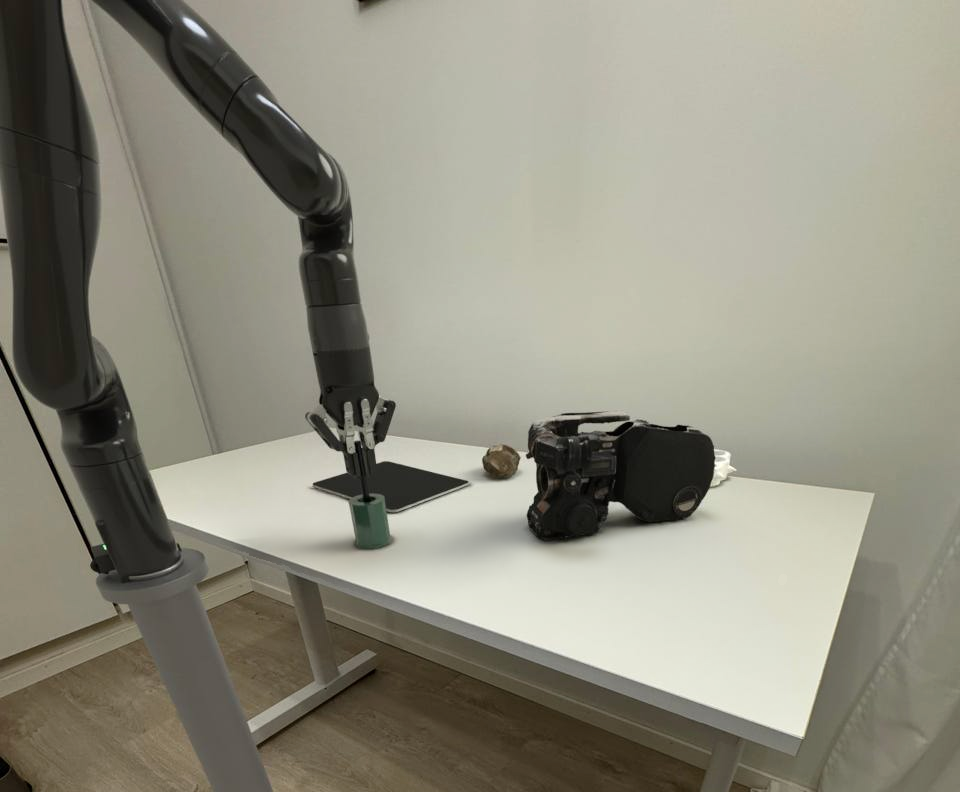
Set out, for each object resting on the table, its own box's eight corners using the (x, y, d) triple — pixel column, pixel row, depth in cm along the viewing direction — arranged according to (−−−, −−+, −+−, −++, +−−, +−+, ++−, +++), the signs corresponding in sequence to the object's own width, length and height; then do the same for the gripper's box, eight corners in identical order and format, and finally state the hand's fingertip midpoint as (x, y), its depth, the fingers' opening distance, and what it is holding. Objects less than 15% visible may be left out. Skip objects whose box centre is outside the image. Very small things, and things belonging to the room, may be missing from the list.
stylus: (371, 540, 87) (355, 442, 79) (369, 538, 88) (352, 441, 80) (377, 538, 88) (361, 441, 80) (374, 536, 88) (358, 439, 80)
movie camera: (533, 557, 78) (537, 426, 69) (506, 519, 93) (506, 408, 85) (735, 540, 82) (762, 414, 74) (677, 506, 98) (694, 399, 89)
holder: (366, 552, 85) (358, 508, 81) (350, 541, 89) (342, 499, 85) (397, 542, 88) (390, 499, 84) (380, 532, 91) (374, 491, 88)
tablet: (309, 483, 114) (385, 460, 126) (310, 486, 114) (386, 463, 126) (393, 510, 98) (471, 481, 110) (393, 514, 98) (471, 485, 110)
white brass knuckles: (673, 461, 117) (745, 470, 108) (634, 484, 105) (711, 497, 97) (676, 444, 115) (749, 453, 107) (636, 466, 104) (715, 477, 95)
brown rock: (488, 454, 120) (470, 475, 113) (501, 428, 115) (482, 449, 108) (518, 473, 120) (501, 495, 113) (531, 448, 115) (515, 470, 108)
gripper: (373, 338, 79) (390, 461, 88) (280, 349, 72) (309, 480, 82) (399, 340, 74) (415, 471, 83) (301, 352, 67) (330, 492, 77)
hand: (362, 475), depth 82 cm, fingers closed
